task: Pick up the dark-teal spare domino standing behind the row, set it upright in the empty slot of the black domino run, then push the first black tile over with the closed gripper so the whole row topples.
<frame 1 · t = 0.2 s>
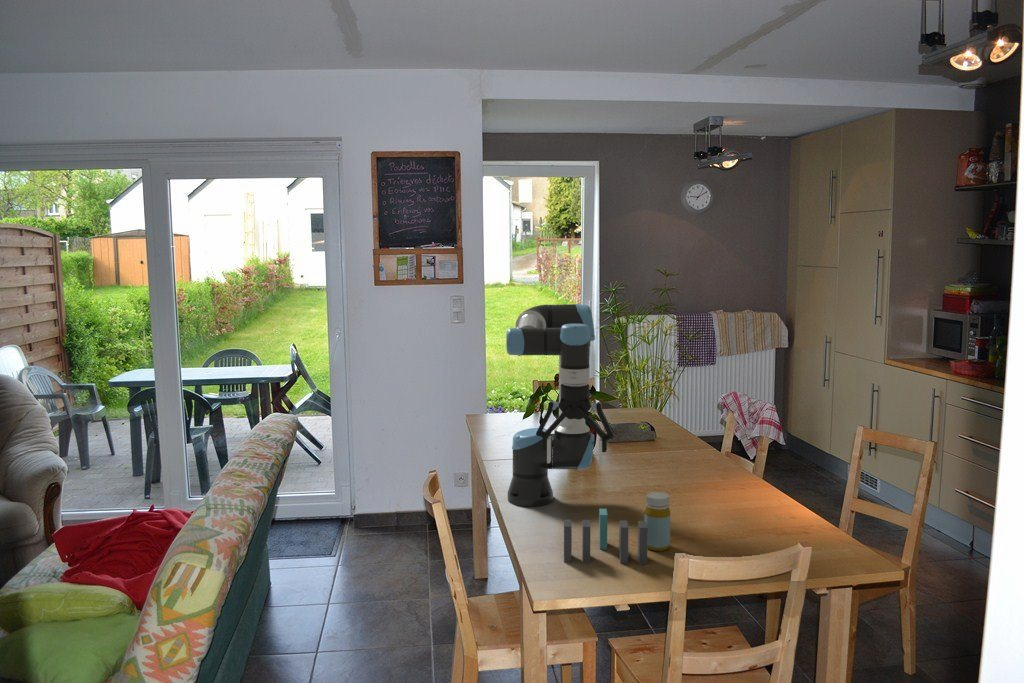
hand: (574, 463, 202), 27 cm above the table, fingers open, 13 cm apart
domino 4: (623, 559, 206), on the table
domino 1: (567, 558, 207), on the table
domino 5: (642, 559, 206), on the table
domino 2: (586, 558, 207), on the table
spare domino: (603, 545, 215), on the table
bottle: (656, 547, 214), on the table
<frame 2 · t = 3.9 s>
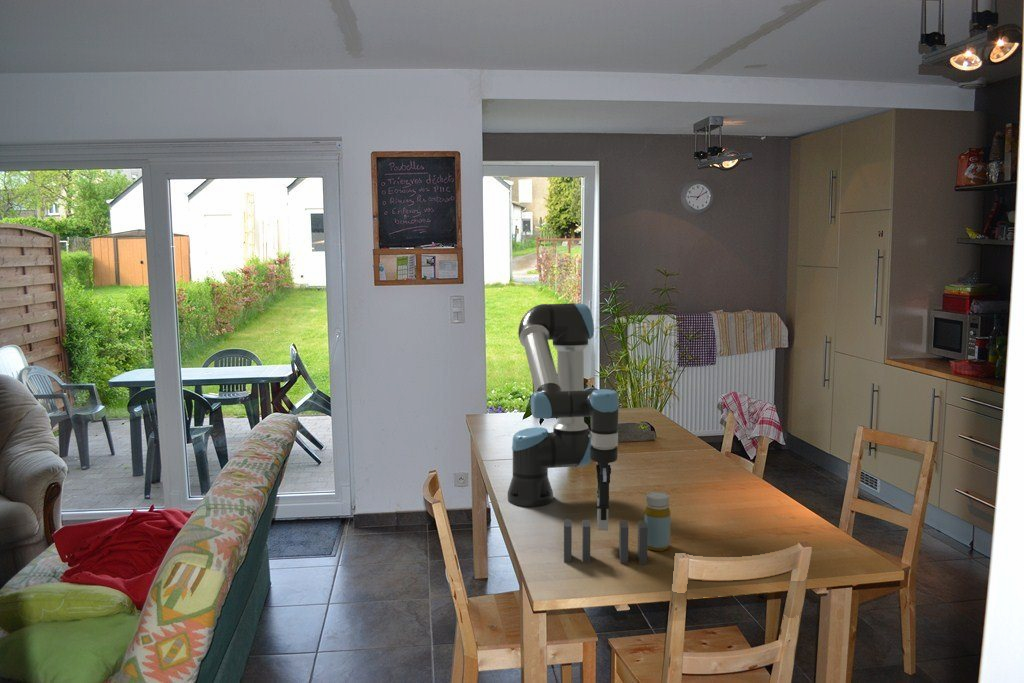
hand: (602, 525, 215), 6 cm above the table, fingers closed on spare domino, 5 cm apart
spare domino: (602, 526, 215), point 5 cm above the table, touching gripper
everything else where it was.
when the fingers open (0 cm above the table, at t = 7.6 s): spare domino stays where it is, on the table.
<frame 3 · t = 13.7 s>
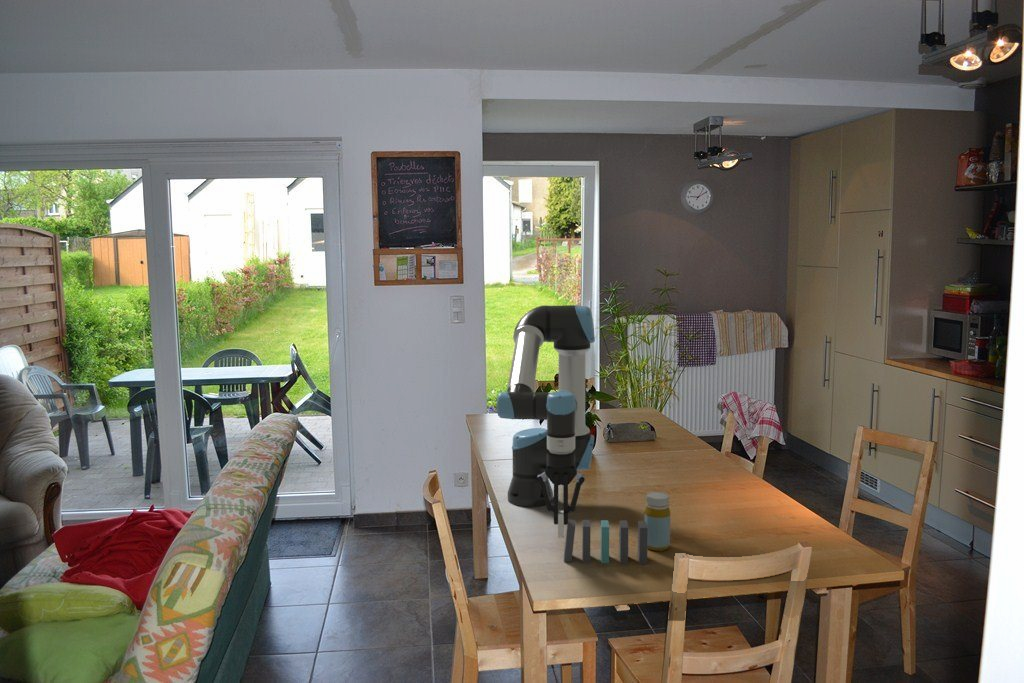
hand: (560, 535, 206), 6 cm above the table, fingers closed
domino 1: (567, 558, 207), on the table, tilted 6°, touching gripper
spare domino: (604, 559, 206), on the table
everything else where it was.
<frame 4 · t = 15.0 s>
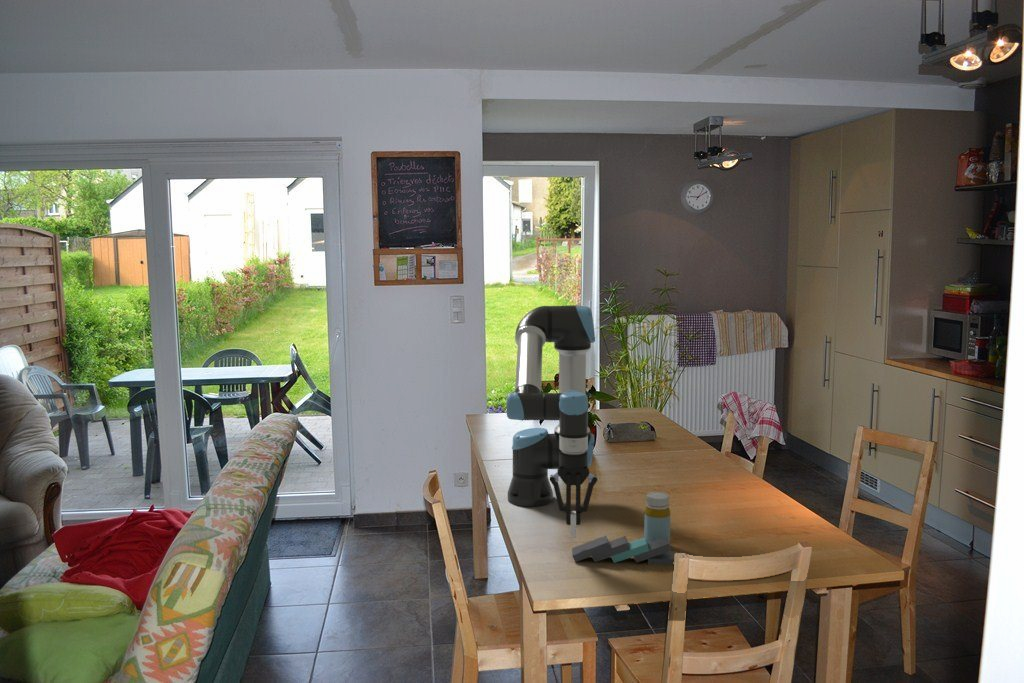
hand: (573, 535, 206), 6 cm above the table, fingers closed
domino 4: (634, 555, 206), point 1 cm above the table, tilted 68°, touching spare domino
domino 1: (573, 555, 207), point 1 cm above the table, tilted 67°, touching domino 2
domino 5: (647, 558, 205), on the table, tilted 90°
domino 2: (592, 555, 207), point 1 cm above the table, tilted 68°, touching domino 1, spare domino
spare domino: (612, 555, 206), point 1 cm above the table, tilted 68°, touching domino 2, domino 4
everything else where it was.
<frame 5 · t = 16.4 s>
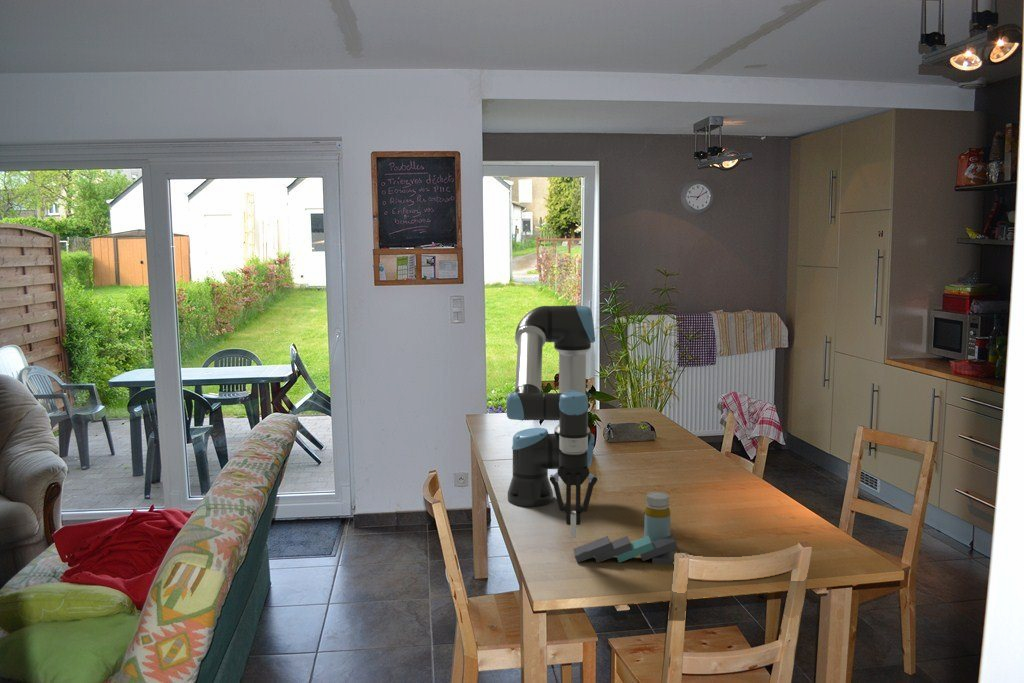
hand: (573, 535, 206), 6 cm above the table, fingers closed
domino 4: (640, 554, 206), point 1 cm above the table, tilted 68°, touching spare domino
domino 5: (651, 558, 206), on the table, tilted 90°
spare domino: (616, 555, 206), point 1 cm above the table, tilted 68°, touching domino 2, domino 4
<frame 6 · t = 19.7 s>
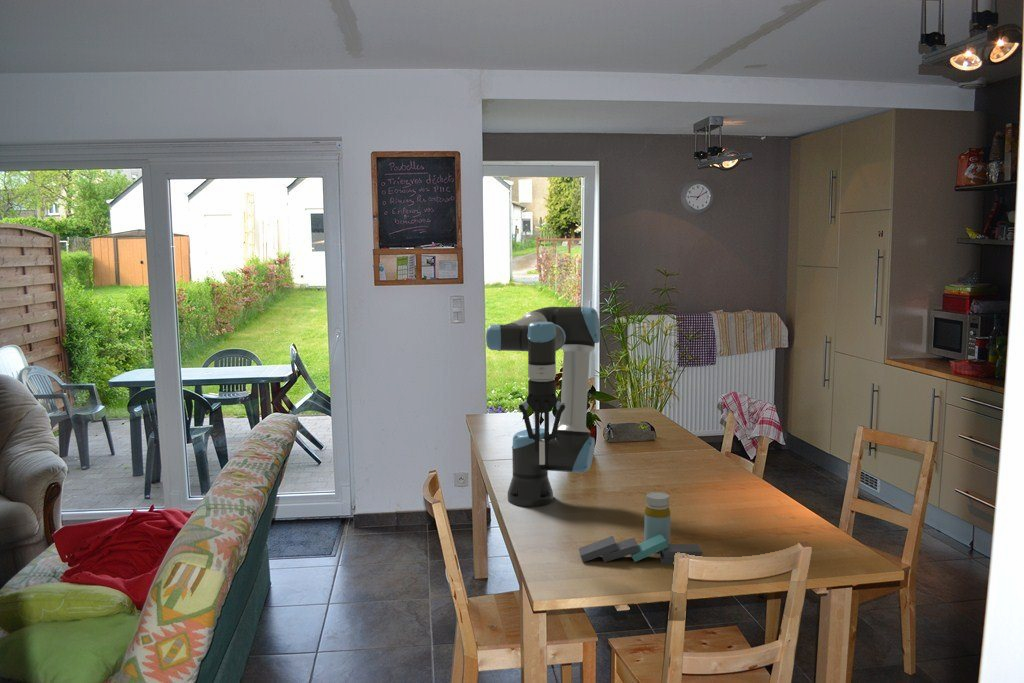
hand: (542, 463, 211), 24 cm above the table, fingers closed
domino 4: (662, 551, 205), point 2 cm above the table, tilted 90°, touching domino 5
domino 1: (580, 555, 207), point 1 cm above the table, tilted 69°, touching domino 2
domino 5: (660, 558, 205), on the table, tilted 90°, touching domino 4
domino 2: (601, 555, 207), point 1 cm above the table, tilted 73°, touching domino 1, spare domino
spare domino: (631, 555, 206), point 1 cm above the table, tilted 67°, touching domino 2
everything else where it was.
at the end: domino 5 tilted 90°; spare domino tilted 67°; spare domino inside the target area (0.7 cm from its centre), point 1.0 cm above the table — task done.
